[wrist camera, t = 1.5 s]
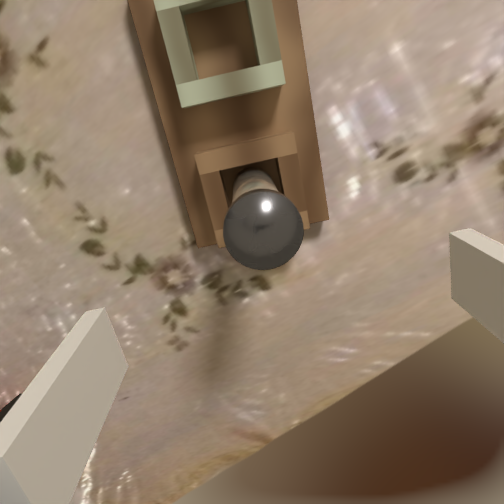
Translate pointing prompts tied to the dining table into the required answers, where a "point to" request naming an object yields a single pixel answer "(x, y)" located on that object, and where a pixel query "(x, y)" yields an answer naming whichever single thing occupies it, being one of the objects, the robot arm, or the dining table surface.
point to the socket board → (232, 102)
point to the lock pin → (261, 222)
